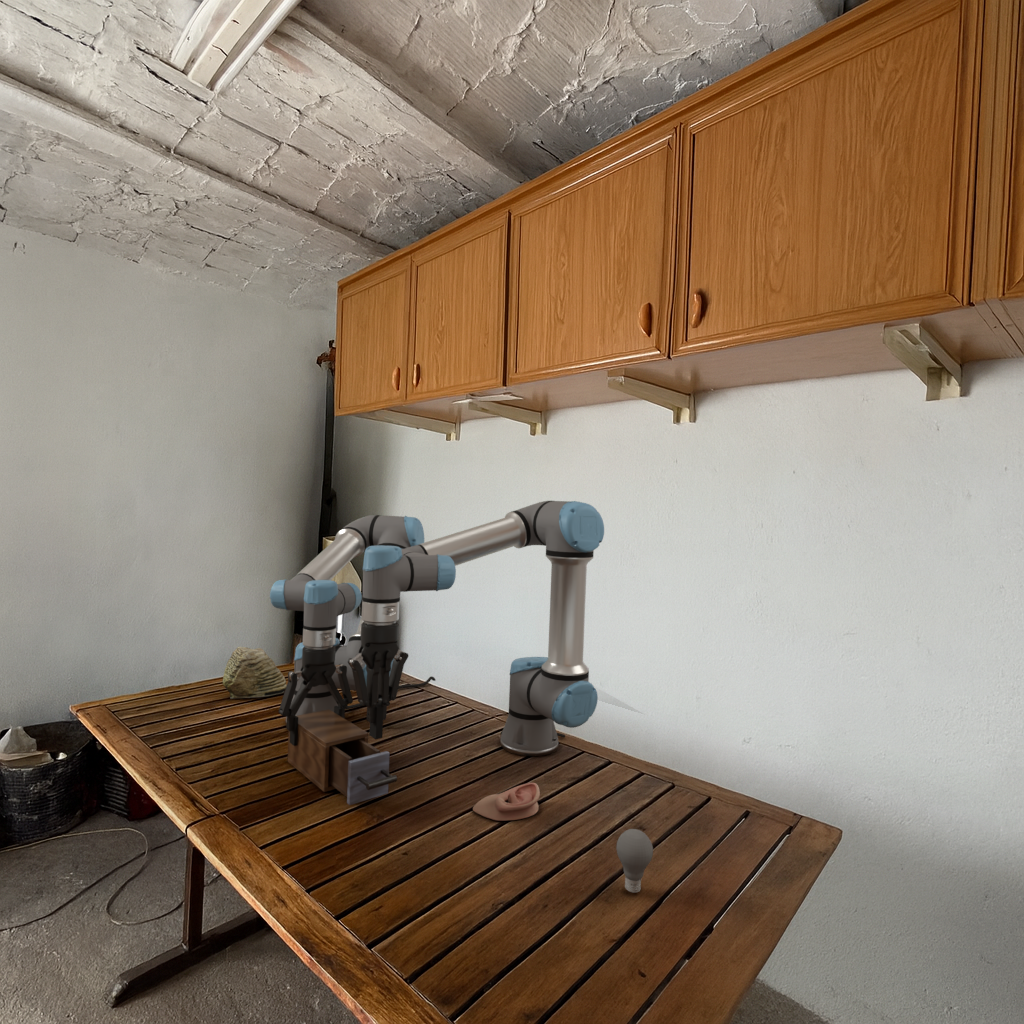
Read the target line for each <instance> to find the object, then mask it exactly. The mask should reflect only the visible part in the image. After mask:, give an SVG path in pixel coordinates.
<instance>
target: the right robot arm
mask: <svg viewBox="0 0 1024 1024" xmlns="http://www.w3.org/2000/svg"><path fill="white" fill-rule="evenodd" d="M602 517H603V516H602V515H601V513H600V512H599V511H598V510H597V508H595V507H594V505H591V504H590V503H587V502H582V501H576V500H571V501H570V500H569V501H567V500H544V501H539V502H536V503H533V504H530V505H527V506H524V507H521V508H519V509H516V510H515V509H514V510H512V511H508V512H506V514H505V516H504V517H503V518H499V519H496V520H493V521H490V522H487V523H484V524H480V525H477V526H474V527H471V528H468V529H467V528H466V529H464V530H461V531H458V532H457V531H456V532H455V533H451V534H447V535H445V536H441V537H438V538H434V539H432V540H429V541H424V543H422V544H419V545H415V546H412V547H408V548H405V549H402V548H400V547H397V546H383V545H376V546H369V547H368V548H367V549H366V550H365V552H364V556H363V562H362V563H363V564H362V599H361V617H360V620H361V619H362V620H363V621H364V622H363V623H362V624H361V647H360V649H359V654H358V655H357V656H355V657H354V658H353V659H352V658H349V659H348V664H349V665H350V667H351V668H352V672H353V677H354V682H355V687H356V691H355V692H356V697H357V702H358V704H359V703H361V704H363V705H364V706H363V707H366V721H367V723H369V732H368V737H369V736H370V737H371V738H373V739H374V740H379V739H383V733H384V732H383V731H384V730H383V729H384V721H386V720H387V714H388V713H387V711H388V707H389V706H390V705H391V701H395V700H396V699H397V695H398V692H399V691H398V690H399V689H398V687H399V686H400V684H401V683H400V682H401V679H402V675H403V670H404V666H405V664H406V662H407V660H408V658H409V653H407V652H406V651H402V650H401V649H400V647H399V644H398V641H399V631H400V630H399V629H400V628H399V627H400V625H399V623H398V621H399V619H400V601H401V592H403V593H405V592H429V591H430V592H431V591H433V592H438V591H445V590H449V589H451V588H452V587H453V585H454V583H455V581H456V575H457V574H456V573H457V569H456V566H459V565H462V564H465V563H468V562H471V561H474V560H478V559H480V558H483V557H486V556H489V555H492V554H496V553H498V552H502V551H504V550H507V549H510V548H513V547H514V548H516V549H523V548H525V547H531V546H543V547H544V546H545V557H546V558H547V559H548V561H549V562H550V563H551V570H550V572H551V573H550V575H551V576H550V596H549V597H550V598H549V619H548V620H549V621H548V622H549V624H548V625H549V626H548V648H547V649H548V651H547V656H525V657H519V658H515V659H514V660H513V661H511V664H510V669H509V693H508V695H509V696H508V715H507V718H506V721H505V724H504V726H503V729H502V730H501V732H500V734H499V736H500V739H499V740H500V742H499V744H500V747H501V748H502V749H503V750H505V751H506V752H509V753H510V754H514V755H518V756H523V757H542V756H547V755H551V754H554V753H555V752H556V751H557V750H558V749H559V737H560V738H566V734H563V733H560V732H557V729H556V726H555V724H556V725H560V726H563V727H566V728H569V729H571V728H572V729H573V728H578V727H581V726H583V725H584V724H586V722H588V721H589V719H590V718H591V717H593V715H594V713H595V711H596V709H597V705H598V700H599V697H598V691H597V688H595V686H594V685H593V684H592V682H590V679H589V677H590V676H589V675H590V668H589V667H588V665H587V664H586V663H585V662H584V647H585V646H584V645H585V621H586V598H587V597H586V595H587V573H588V572H587V571H588V569H587V568H588V567H587V566H588V564H589V563H590V562H591V561H592V560H593V559H594V553H595V550H596V549H598V548H599V547H600V543H602V542H603V540H604V536H605V524H604V520H603V518H602ZM362 659H363V661H364V662H365V664H366V671H367V687H366V682H365V677H364V672H363V669H362V667H361V666H363V663H362ZM393 659H394V661H393V664H392V668H391V662H392V660H393ZM390 671H391V672H390ZM389 672H390V676H389Z"/></svg>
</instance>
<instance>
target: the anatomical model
mask: <svg viewBox="0 0 1024 1024" xmlns="http://www.w3.org/2000/svg"><path fill="white" fill-rule="evenodd" d="M540 791H541V790H540V787H539V785H538V784H537V783H535V782H527V783H523V784H520V785H517V786H515V787H512V788H510V789H508V790H506V791H503V792H499V793H496V794H490V795H486V796H485V797H483V798H481V799H480V800H478V801H477V802H476V803H475V804H474V805H473V807H472V811H473V812H474V813H475V814H478V815H480V816H482V817H484V818H487V819H490V820H493V821H499V822H504V821H505V822H507V821H516V820H521V819H526V818H529V817H532V816H534V815H536V814H537V813H538V811H539V803H538V801H539V799H540V796H541V792H540Z"/></svg>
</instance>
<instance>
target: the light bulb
mask: <svg viewBox="0 0 1024 1024" xmlns="http://www.w3.org/2000/svg"><path fill="white" fill-rule="evenodd" d="M615 849H616V854H617V857H618V859H619V861H620V863H621V865H622V867H623V873H624V874H623V875H624V876H625V878H624V888H625V890H627V891H628V892H630V893H634V894H635V893H639V892H640V891H641V889H642V887H641V886H642V879H643V877H644V875H645V871H646V868H647V867H648V866H649V864H650V863H651V861H652V859H653V855H654V847H653V843H652V841H651V838H649V836H648V835H647V834H646V833H645V832H643V831H642V830H641V829H636V828H629V829H627V830H625V831H623V832H622V833H621V834H620V835H619V837H618V839H617V841H616V847H615Z"/></svg>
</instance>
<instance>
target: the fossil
mask: <svg viewBox="0 0 1024 1024" xmlns="http://www.w3.org/2000/svg"><path fill="white" fill-rule="evenodd" d="M222 676H223V677H222V685H223V687H224V688H225V690H226V691H228V693H229V698H230V699H250V698H264V697H271V696H275V695H281V694H284V693H285V689H286V686H287V680H286V678H285V676H284V674H283V673H282V672H281V669H279V668H278V667H277V665H276V663H275V662H274V660H273V659H272V658H271V657H270V656H269V655H268V654H267V653H266V652H265V650H264V649H263V648H260V647H258V648H251V647H247V646H246V647H245V646H238V647H237V648H236V649H235V650H233V651H232V653H231V656H230V657H229V659H228V660H227V663H226V666H225V668H224V671H223V675H222Z"/></svg>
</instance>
